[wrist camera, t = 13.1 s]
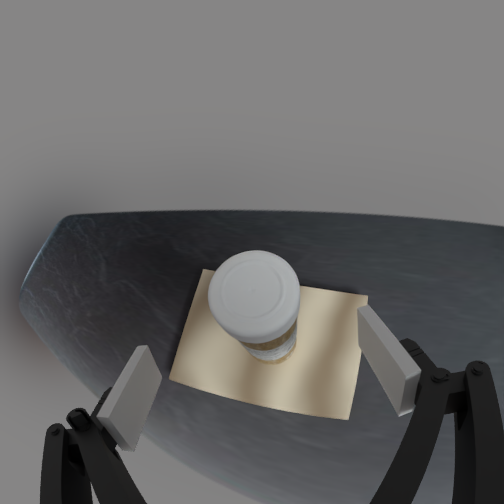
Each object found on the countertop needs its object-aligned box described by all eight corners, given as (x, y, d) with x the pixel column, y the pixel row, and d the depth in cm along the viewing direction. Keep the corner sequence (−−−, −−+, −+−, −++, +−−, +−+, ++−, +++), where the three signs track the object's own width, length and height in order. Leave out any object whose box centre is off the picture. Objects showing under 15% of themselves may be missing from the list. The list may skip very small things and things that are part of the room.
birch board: (364, 301, 27) (367, 296, 26) (345, 418, 22) (348, 419, 20) (207, 274, 31) (203, 269, 30) (174, 380, 26) (168, 379, 24)
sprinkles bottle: (265, 309, 27) (242, 232, 15) (306, 334, 25) (318, 274, 13) (237, 349, 25) (187, 302, 13) (278, 376, 23) (264, 355, 12)
